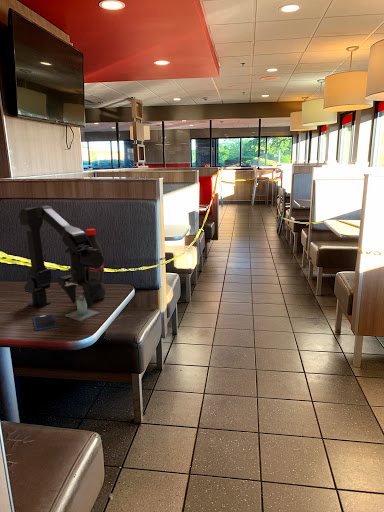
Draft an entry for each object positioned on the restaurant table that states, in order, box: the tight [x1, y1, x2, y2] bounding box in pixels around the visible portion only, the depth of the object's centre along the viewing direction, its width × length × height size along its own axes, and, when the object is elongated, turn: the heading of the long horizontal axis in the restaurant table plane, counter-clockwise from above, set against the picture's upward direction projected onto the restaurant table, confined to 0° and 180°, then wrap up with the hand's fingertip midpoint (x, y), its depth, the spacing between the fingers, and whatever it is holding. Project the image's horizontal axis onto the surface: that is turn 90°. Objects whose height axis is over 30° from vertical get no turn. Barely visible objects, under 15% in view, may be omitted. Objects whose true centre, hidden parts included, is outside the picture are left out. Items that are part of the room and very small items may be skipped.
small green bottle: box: [75, 294, 88, 315], centre depth 149 cm, size 4×4×7 cm
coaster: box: [65, 308, 100, 322], centre depth 150 cm, size 9×9×1 cm
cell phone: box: [32, 313, 58, 332], centre depth 144 cm, size 7×14×1 cm, turn 25°
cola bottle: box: [84, 228, 107, 301], centre depth 166 cm, size 8×8×30 cm
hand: (81, 305), depth 149 cm, fingers open, 9 cm apart
